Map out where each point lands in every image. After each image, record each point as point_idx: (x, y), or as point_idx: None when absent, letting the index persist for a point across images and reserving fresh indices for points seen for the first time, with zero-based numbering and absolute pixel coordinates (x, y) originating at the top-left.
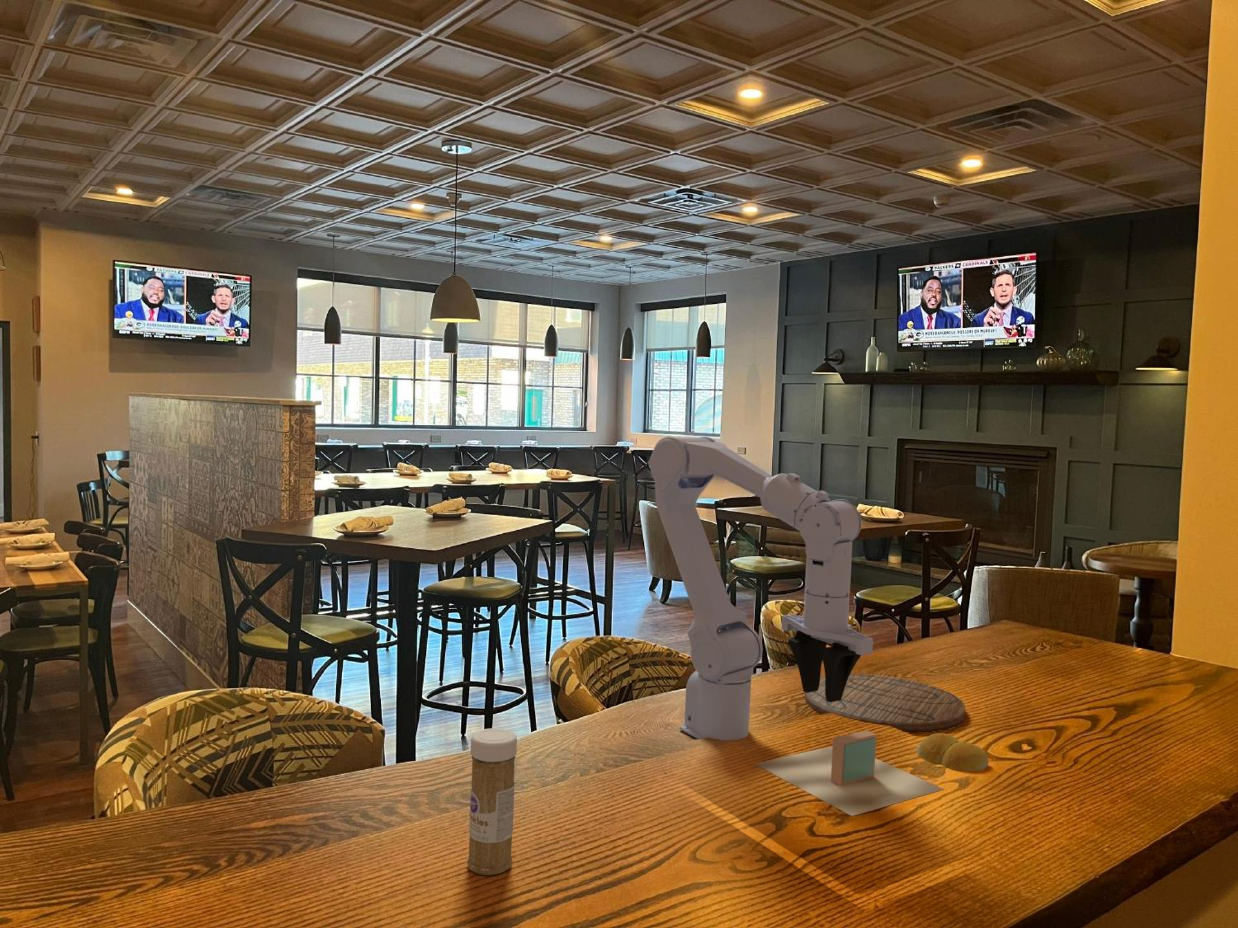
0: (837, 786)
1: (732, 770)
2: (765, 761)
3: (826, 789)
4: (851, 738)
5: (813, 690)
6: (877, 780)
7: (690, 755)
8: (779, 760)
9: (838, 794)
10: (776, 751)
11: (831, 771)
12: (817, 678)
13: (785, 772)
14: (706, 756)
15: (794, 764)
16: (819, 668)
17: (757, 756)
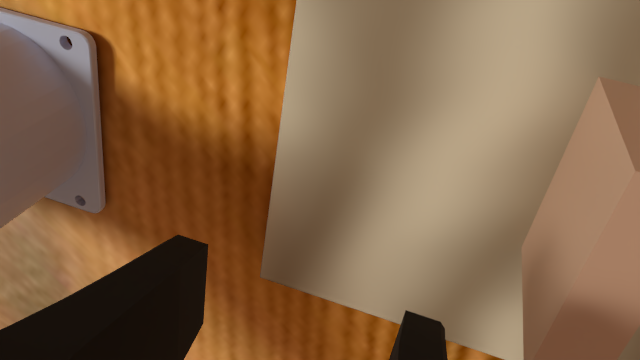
0: None
1: (231, 291)
2: (266, 242)
3: None
4: (608, 336)
5: (202, 281)
6: None
7: (101, 275)
8: (286, 206)
9: None
10: (187, 70)
11: (522, 269)
12: (155, 311)
13: (364, 276)
14: (123, 256)
15: (341, 203)
16: (97, 354)
17: (189, 158)
